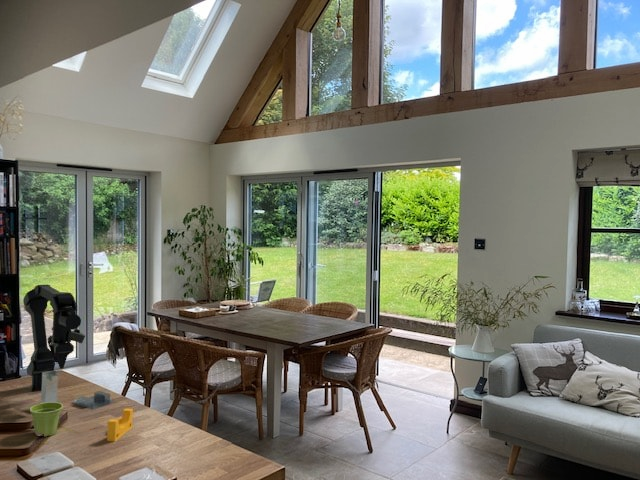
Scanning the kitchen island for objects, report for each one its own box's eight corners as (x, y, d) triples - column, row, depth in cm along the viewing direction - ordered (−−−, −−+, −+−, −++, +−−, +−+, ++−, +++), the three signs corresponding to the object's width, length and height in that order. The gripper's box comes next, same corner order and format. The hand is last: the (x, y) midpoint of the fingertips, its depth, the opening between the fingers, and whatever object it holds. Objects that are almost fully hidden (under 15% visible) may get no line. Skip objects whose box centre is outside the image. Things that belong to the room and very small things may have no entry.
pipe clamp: (120, 426, 172) (120, 407, 172) (132, 427, 172) (133, 408, 172) (101, 441, 160) (102, 420, 160) (114, 442, 160) (115, 421, 160)
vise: (71, 405, 189) (71, 396, 189) (94, 398, 198) (94, 389, 198) (92, 412, 183) (93, 402, 183) (115, 404, 192) (115, 395, 192)
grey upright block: (40, 408, 182) (42, 372, 182) (52, 405, 185) (54, 370, 185) (47, 413, 177) (49, 376, 177) (59, 410, 180) (61, 374, 180)
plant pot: (52, 440, 158) (53, 413, 158) (22, 438, 158) (23, 411, 158) (67, 428, 168) (68, 403, 167) (39, 427, 168) (40, 401, 168)
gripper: (89, 328, 192) (87, 369, 192) (78, 320, 207) (77, 357, 207) (56, 330, 185) (54, 372, 185) (48, 321, 200) (46, 360, 200)
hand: (59, 365), depth 195 cm, fingers open, 9 cm apart
